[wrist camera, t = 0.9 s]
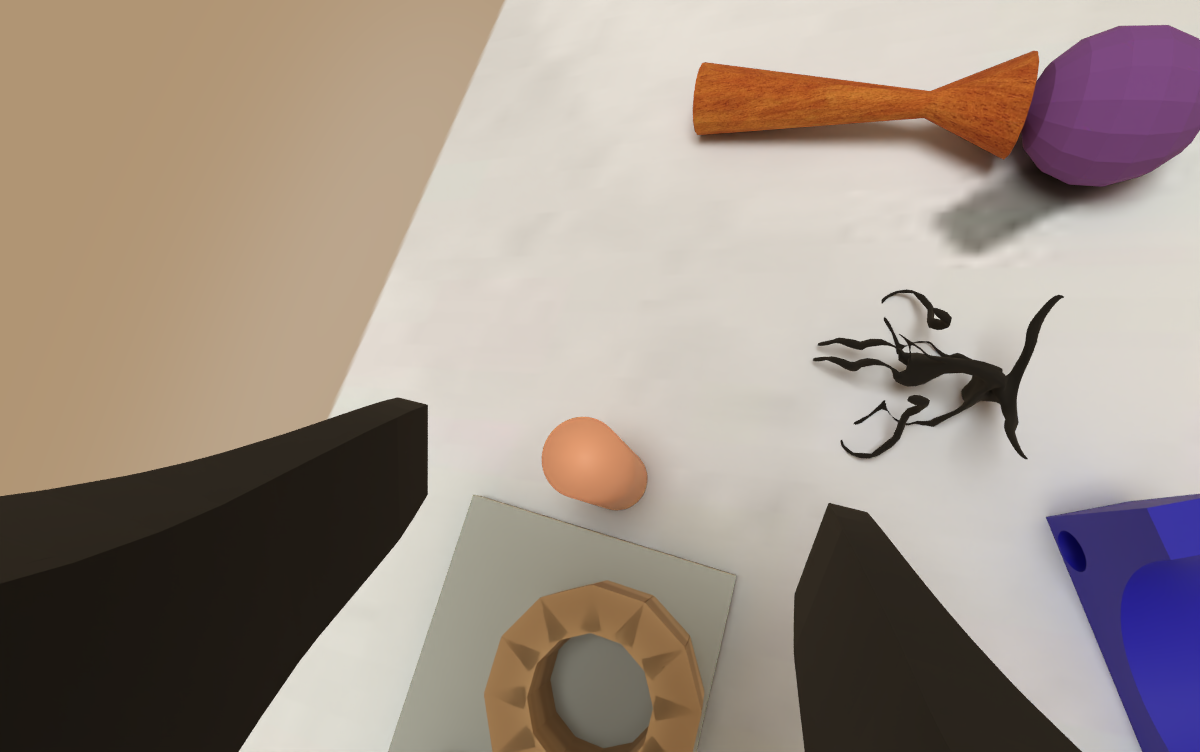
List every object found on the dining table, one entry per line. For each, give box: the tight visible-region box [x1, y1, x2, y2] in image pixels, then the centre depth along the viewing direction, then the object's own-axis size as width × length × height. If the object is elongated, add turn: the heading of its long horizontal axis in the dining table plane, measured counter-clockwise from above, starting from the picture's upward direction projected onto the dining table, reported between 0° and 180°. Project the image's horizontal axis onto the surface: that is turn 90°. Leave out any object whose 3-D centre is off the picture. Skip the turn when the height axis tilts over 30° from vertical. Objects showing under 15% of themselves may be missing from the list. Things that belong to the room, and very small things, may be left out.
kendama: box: [693, 25, 1200, 186], centre depth 26 cm, size 6×6×20 cm
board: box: [388, 495, 736, 752], centre depth 24 cm, size 16×12×1 cm
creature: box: [813, 290, 1064, 459], centre depth 23 cm, size 8×5×8 cm
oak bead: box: [484, 580, 704, 752], centre depth 22 cm, size 8×8×3 cm
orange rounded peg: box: [542, 417, 647, 510], centre depth 23 cm, size 3×3×7 cm
